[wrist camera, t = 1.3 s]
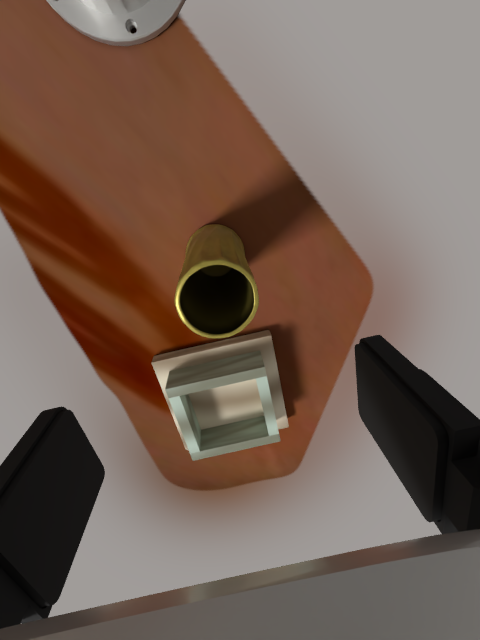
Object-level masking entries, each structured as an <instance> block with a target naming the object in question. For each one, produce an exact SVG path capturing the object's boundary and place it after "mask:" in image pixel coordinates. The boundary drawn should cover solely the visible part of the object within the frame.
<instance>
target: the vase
mask: <svg viewBox="0 0 480 640" xmlns="http://www.w3.org/2000/svg"><path fill="white" fill-rule="evenodd" d="M258 304H259V296H258V289H257V286H256V283H255V281H254V277H253V274H252V272H251V270H250V268H249V265H248V263H247V260H246V258H245V250H244V246H243V243H242V241H241V239H240V238H239V236H238V235H237V234H236V233H235V232H234V231H233V230H232V229H230V228H228V227H226V226H223V225H218V224H212V225H206V226H204V227H202V228H200V229H198V230H197V231H196V232H195V233H194V234H193V235H192V236H191V237H190V239H189V241H188V244H187V247H186V257H185V261H184V264H183V268H182V272H181V274H180V277H179V281H178V285H177V289H176V294H175V306H176V309H177V312H178V315H179V317H180V318H181V320H182V321H183V322H184V324H185V325H186V326H187V327H188V328H189V329H191V330H192V331H193V332H195V333H196V334H198V335H201V336H204V337H208V338H226V337H230V336H233V335H235V334H237V333H239V332H240V331H242V330H243V329H244V328H245V327H246V326H247V325H248V324H249V323H250V322H251V320H252V319H253V318H254V315H255V313H256V311H257V308H258Z"/></svg>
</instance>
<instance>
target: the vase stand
mask: <svg viewBox="0 0 480 640" xmlns="http://www.w3.org/2000/svg"><path fill="white" fill-rule="evenodd" d="M152 365H153V368H154V370H155V373H156V375H157V378H158V380H159V383H160V385H161V388H162V390H163V393H164V396H165V398H166V401H167V403H168V406H169V408H170V411H171V413H172V416H173V418H174V421H175V423H176V426H177V428H178V431H179V433H180V436H181V439H182V441H183V444H184V446H185V449H186V450H189V452H190V455H191V457H192V460H193V461H194V460H198V459H203V458H207V457H212V456H216V455H221V454H225V453H230V452H234V451H239V450H243V449H248V448H252V447H256V446H261V445H265V444H270V443H274V442H279V441H280V436H279V432H278V429H282V428H286V427H289V426H288V420H287V415H286V410H285V405H284V399H283V394H282V389H281V384H280V378H279V373H278V368H277V363H276V358H275V352H274V347H273V342H272V337H271V333H270V331H269V330H265V331H261V332H257V333H252V334H248V335H243V336H239V337H235V338H230V339H226V340H222V341H217V342H213V343H208V344H204V345H200V346H195V347H191V348H187V349H182V350H178V351H173V352H169V353H165V354H160V355H156V356H154V357H153V360H152Z"/></svg>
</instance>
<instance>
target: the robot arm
mask: <svg viewBox="0 0 480 640" xmlns="http://www.w3.org/2000/svg"><path fill="white" fill-rule="evenodd" d="M46 1H47V2H48V3H49V4H50V6H51V7H52V8H53V9H54V10H55V11H56V12H57V13H58V14H59V15H60V16H61V17H62V18H63V19H64V20H65V21H66V22H67V23H69V24H70V25H71V26H72V27H74V28H75V29H76V30H77V31H79V32H80V33H82V34H84V35H86V36H88V37H90V38H92V39H93V40H95V41H99V42H102V43H105V44H109V45H116V46H131V45H136V44H142V43H144V42H146V41H148V40H151V39H153V38H155V37H156V36H158V35H159V34H160V33H161V32H163V31H164V30H165V29H167V28H168V26H169V25H170V24H171V23H172V22H173V20H174V19H175V18H176V17H177V15H178V14H179V12H180V10H181V8H182V6H183V4H184V2H185V1H186V0H58V1H57V0H46ZM132 28H136V29H137V31H136V33H134V34H132V33H131V30H132ZM355 360H356V375H357V376H356V377H357V392H358V408H359V414H360V417H361V419H362V421H363V422H364V424H365V426H366V427H367V429H368V430H369V432H370V433H371V435H372V436H373V438H374V440H375V441H376V443H377V444H378V446H379V447H380V449H381V451H382V452H383V454H384V455H385V457H386V458H387V460H388V462H389V463H390V465H391V466H392V468H393V469H394V471H395V473H396V474H397V476H398V477H399V479H400V480H401V482H402V483H403V485H404V487H405V488H406V490H407V491H408V493H409V494H410V496H411V498H412V499H413V501H414V502H415V504H416V506H417V507H418V508H419V510H420V512H421V513H422V515H423V516H424V518H425V519H426V520H427V521H428V522H433V521H434V522H435V524H436V525H437V527H438V528H439V530H440V532H441V533H442V534H440V535H434V536H429V537H424V538H418V539H413V540H408V541H403V542H398V543H393V544H387V545H382V546H377V547H372V548H367V549H361V550H357V551H352V552H347V553H343V554H338V555H333V556H329V557H324V558H319V559H315V560H310V561H305V562H300V563H296V564H291V565H286V566H281V567H277V568H272V569H267V570H263V571H259V572H253V573H249V574H245V575H239V576H235V577H230V578H226V579H221V580H217V581H212V582H208V583H203V584H198V585H194V586H189V587H185V588H180V589H175V590H171V591H167V592H162V593H157V594H153V595H148V596H143V597H139V598H135V599H130V600H125V601H121V602H116V603H112V604H108V605H103V606H99V607H95V608H90V609H86V610H81V611H76V612H72V613H68V614H64V615H58V616H54V617H50V618H48V615H49V613H50V610H51V608H52V605H54V604H55V603H56V602H57V600H58V599H59V597H60V594H61V592H62V589H63V587H64V584H65V581H66V578H67V575H68V573H69V570H70V568H71V565H72V562H73V560H74V557H75V554H76V552H77V549H78V546H79V544H80V541H81V538H82V536H83V533H84V530H85V527H86V525H87V522H88V520H89V517H90V514H91V512H92V509H93V506H94V504H95V501H96V498H97V496H98V493H99V490H100V487H101V485H102V482H103V479H104V475H105V471H104V467H103V465H102V463H101V461H100V459H99V458H98V456H97V454H96V453H95V451H94V449H93V447H92V445H91V444H90V442H89V440H88V439H87V437H86V435H85V433H84V431H83V430H82V428H81V426H80V425H79V423H78V421H77V419H76V417H75V416H74V414H73V412H72V411H71V410H67V409H66V408H64V407H58V408H53V409H49V410H45V411H43V412H41V413H40V415H39V416H38V417H37V418H36V420H35V421H34V422H33V424H32V425H31V426H30V427H29V429H28V430H27V431H26V433H25V434H24V435H23V437H22V438H21V439H20V441H19V442H18V443H17V445H16V446H15V447H14V448H13V450H12V451H11V452H10V454H9V455H8V456H7V458H6V459H5V460H4V462H3V463H2V464H1V466H0V640H480V419H478V418H477V417H476V416H475V415H474V414H473V413H472V412H470V411H469V410H468V409H467V408H466V407H465V406H463V405H462V404H461V403H460V402H459V401H458V400H457V399H456V398H454V397H453V396H452V395H451V394H450V393H449V392H448V391H446V390H445V389H444V388H443V387H442V386H441V385H439V384H438V383H437V382H436V381H435V380H434V379H433V378H432V377H430V376H429V375H428V374H427V373H426V372H424V371H422V370H420V369H418V368H417V367H416V366H414V365H413V364H412V363H411V362H410V361H409V360H408V359H407V358H405V357H404V356H403V355H402V354H401V353H400V352H399V351H398V350H396V349H395V348H394V347H393V346H392V345H391V344H390V343H389V342H387V341H386V340H385V339H384V338H383V337H382V336H380V335H375V336H371V337H367V338H363V339H361V340H360V343H359V344H356V345H355ZM21 623H22V624H21Z"/></svg>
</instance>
